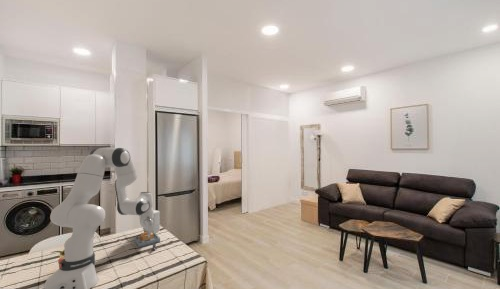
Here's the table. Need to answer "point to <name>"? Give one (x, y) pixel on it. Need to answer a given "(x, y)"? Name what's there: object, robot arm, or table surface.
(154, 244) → the stake
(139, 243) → the tray
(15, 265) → the table surface
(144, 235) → the orange hollow block
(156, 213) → the skincare box
